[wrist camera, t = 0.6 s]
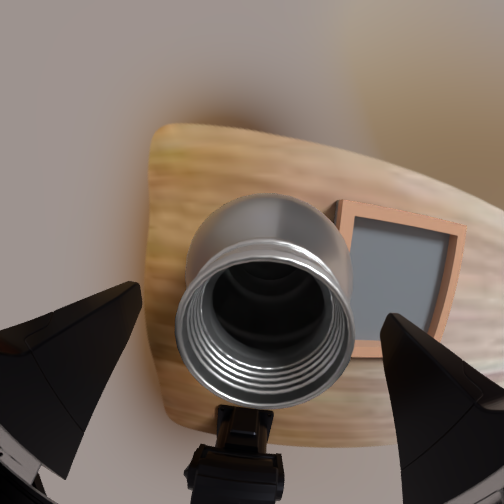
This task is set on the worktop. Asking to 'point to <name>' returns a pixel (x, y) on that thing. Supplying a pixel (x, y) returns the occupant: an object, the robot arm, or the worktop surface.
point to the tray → (399, 269)
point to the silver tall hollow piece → (267, 303)
